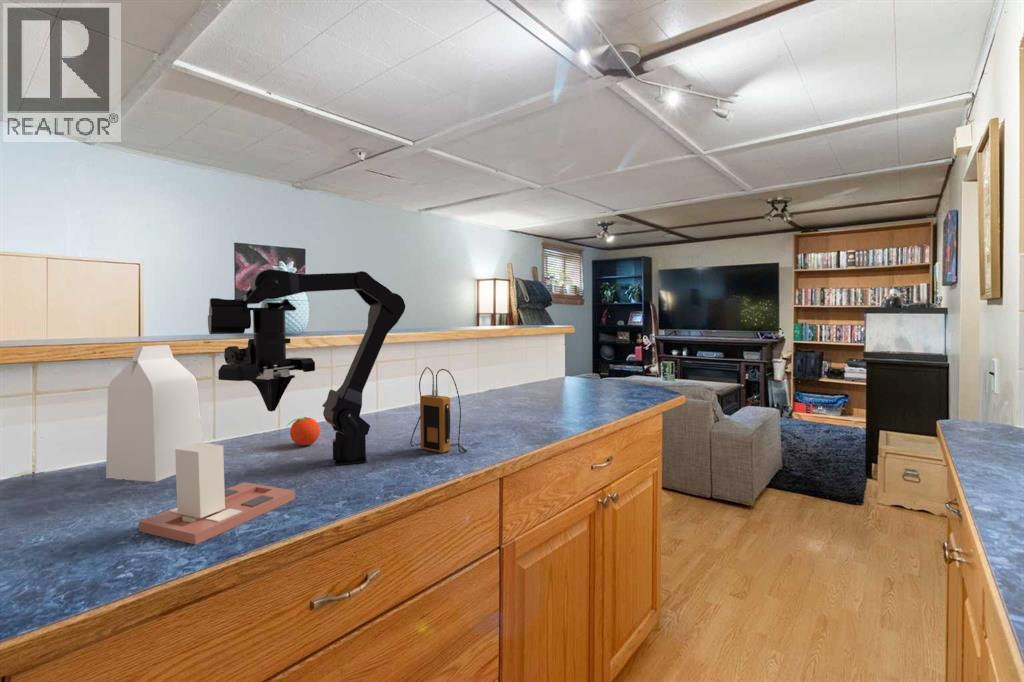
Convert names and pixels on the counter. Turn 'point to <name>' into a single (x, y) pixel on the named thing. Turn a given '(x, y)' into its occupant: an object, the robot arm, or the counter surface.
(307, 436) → the clementine
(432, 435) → the multimeter
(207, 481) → the switch tab
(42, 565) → the counter surface
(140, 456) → the milk
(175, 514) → the switch block
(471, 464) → the counter surface
